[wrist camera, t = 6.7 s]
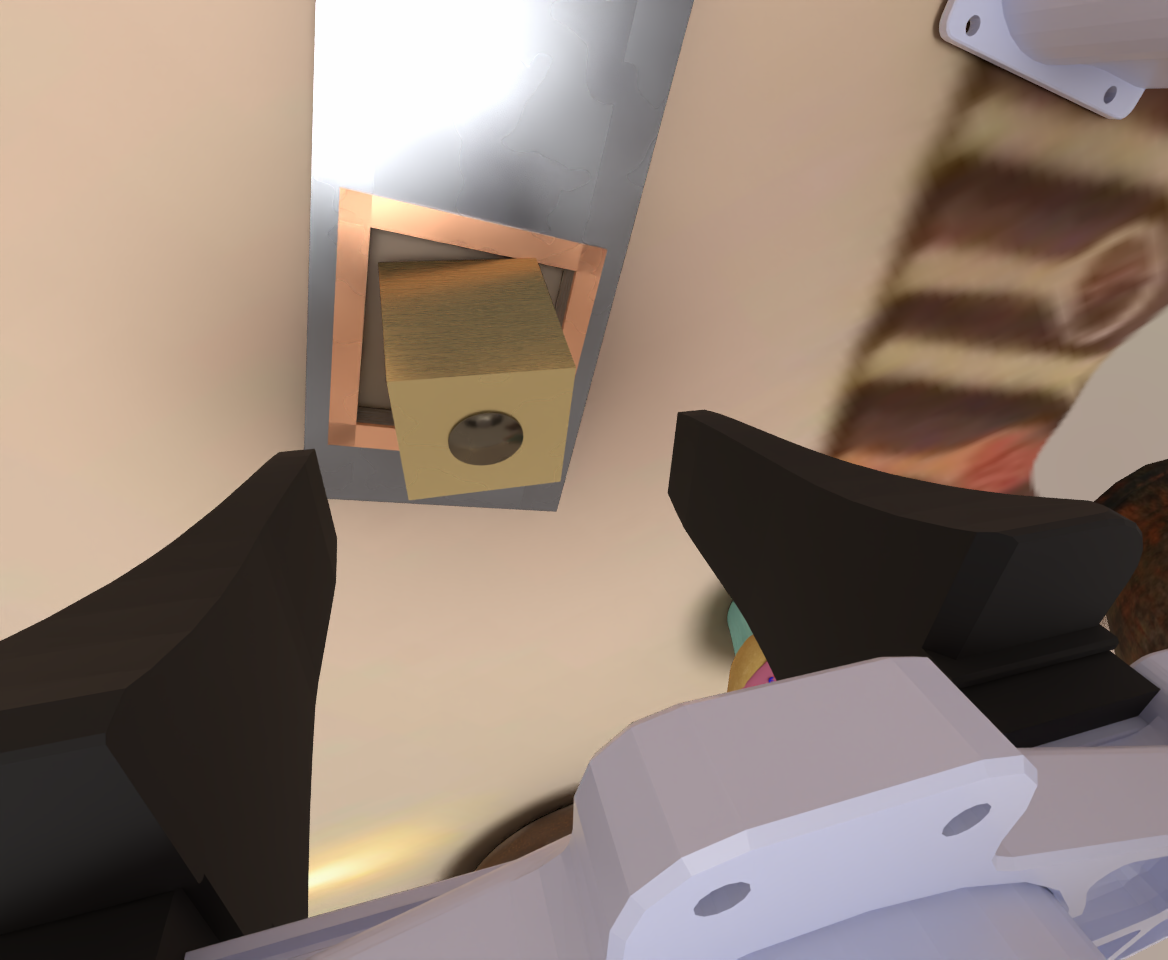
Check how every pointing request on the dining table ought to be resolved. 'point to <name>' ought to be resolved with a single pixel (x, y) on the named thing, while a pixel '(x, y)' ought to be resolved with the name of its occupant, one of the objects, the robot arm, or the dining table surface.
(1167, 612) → the pitcher
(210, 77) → the dining table surface
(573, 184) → the rail
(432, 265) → the brass cube with hole
